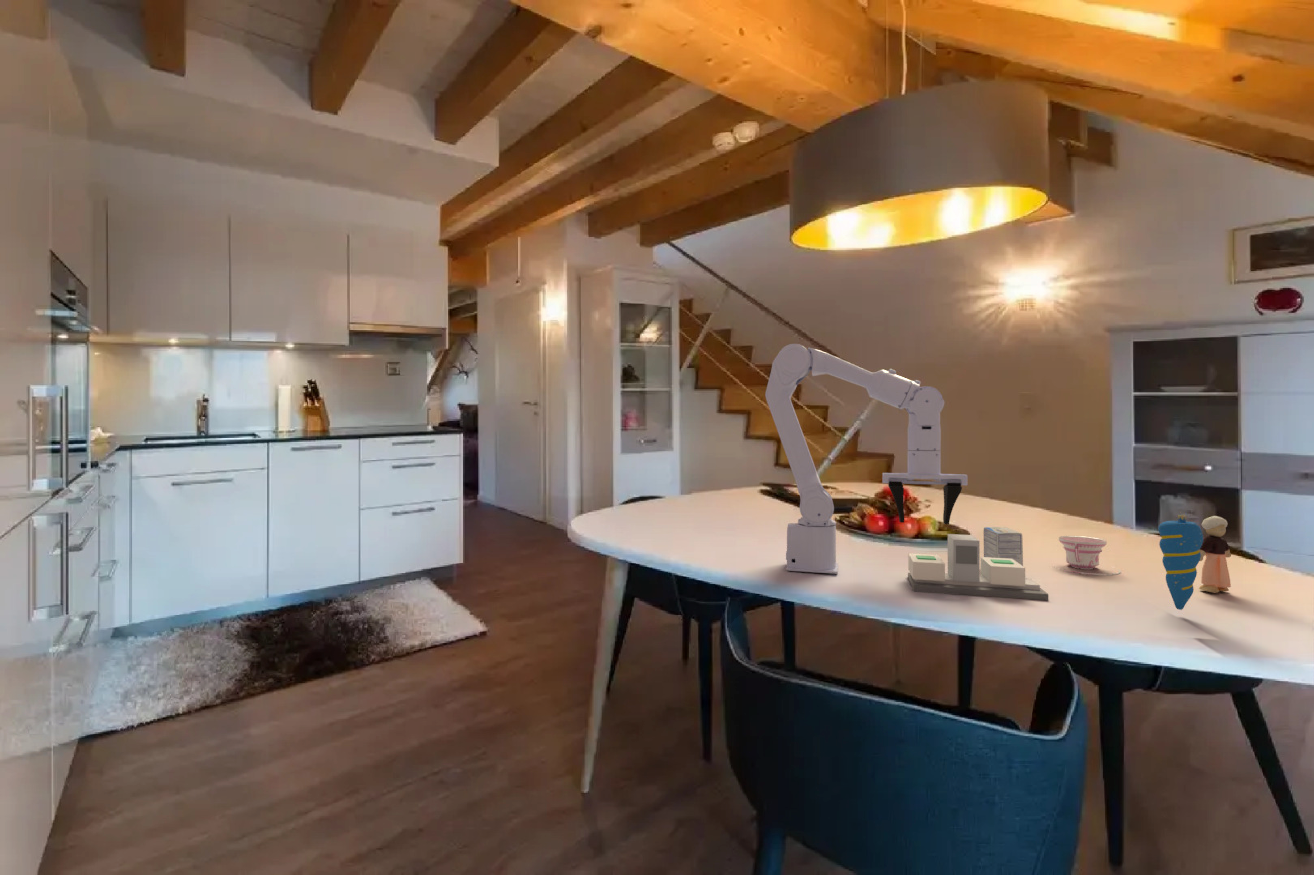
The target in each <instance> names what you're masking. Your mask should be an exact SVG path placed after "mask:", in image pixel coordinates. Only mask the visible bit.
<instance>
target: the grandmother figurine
mask: <svg viewBox="0 0 1314 875" xmlns="http://www.w3.org/2000/svg"><path fill="white" fill-rule="evenodd" d="M1228 525H1229V524H1228V521H1227V519H1225V518H1223V517H1221V516H1218V515H1212V516H1210V517H1206V518H1205V519H1203V520H1202V523H1201V527H1202V528H1203V529H1205V532H1206V534H1208V535H1207V536H1205V537H1203V543H1202V546H1201V548H1200V549H1199V551H1200V554H1201V558H1200V561H1199V562H1202V561H1203V560H1204V557H1205V560H1204V562H1203V565H1202V567H1201V580H1200V582H1201V584H1202V585H1200V586H1199V587H1198V590H1201V591H1205V592H1209V593H1220V592H1228V591H1230V590H1229V588H1232V585H1231V584H1232V583H1231V578H1230V572H1229V571H1230V570H1229V567H1228V562H1227V558H1231V556H1232V553H1231V551H1230V546H1229V544H1228V542H1227V540H1226V539H1225V538H1223V536H1225V534H1226V531H1227V529H1226V528H1227V527H1228Z"/></svg>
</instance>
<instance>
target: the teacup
mask: <svg viewBox="0 0 1314 875" xmlns="http://www.w3.org/2000/svg"><path fill="white" fill-rule="evenodd" d="M1058 541H1059V542H1060V543H1061V544H1062V545H1063V546H1062V547H1063V549H1064V550H1065V555H1066V556H1065V563H1067V564H1068V565H1070V567H1072V568H1075V569H1079V568H1081V569H1080V570H1094V569H1095V568H1096V567H1099V565H1100V554H1101V552H1103V548H1104V547H1105V546H1106V545H1107V540H1106V539H1105V538H1100V537H1093V536H1085V535H1061V536H1059V537H1058ZM1053 568H1055V569H1056V568H1057V567H1054V566H1053ZM1093 568H1094V569H1093ZM1112 568H1113V569H1115V567H1114V566H1112ZM1057 570H1059V571H1064V572H1070V573H1073V572H1075V573H1074V574H1079V573H1081V574H1082V575H1086V574H1087V575H1093V576H1114V575H1115V576H1116V575H1119V574H1122V570H1121V569H1120V568H1117V570H1118V573H1117V572H1115V573H1114V572H1113V573H1093V572H1091V573H1090V572H1082V571H1074V570H1067V569H1062V568H1057ZM1081 574H1080V575H1081Z"/></svg>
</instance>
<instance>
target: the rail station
mask: <svg viewBox="0 0 1314 875" xmlns="http://www.w3.org/2000/svg"><path fill="white" fill-rule="evenodd" d="M907 555H908V556H907V557H908V566H907V568H908V571H909V572H907V578H908V580H909V584H910V586H911V588H912V590H913V592H921V593H923V592H924V593H937V594H953V595H964V596H965V595H968V596H977V597H978V596H979V597H980V596H981V597H995V598H1008V599H1009V598H1010V599H1025V600H1037V601H1049V592H1046V591H1045V590H1044V589H1042V588H1041V585H1040V583H1038V582H1036V581H1035V580H1034V579H1033V578H1031V577H1030V578H1029V577H1026V567H1024V565H1023V566H1022V565H1020V564H1019V563H1018V562H1016V561H1015V560H1013V559H1010V558H991V557H984V556H981V557H980V574H981V575H980V582H969V581H953V579H952V578H951V577H950V575H949V574H948V572H947V573H946V563H945V562H944V561H943V559H942V558H941V557H940V555H939V554H932V553H931V554H927V553H925V554H924V553H911V552H909V553H908V554H907Z"/></svg>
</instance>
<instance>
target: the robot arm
mask: <svg viewBox="0 0 1314 875" xmlns="http://www.w3.org/2000/svg"><path fill="white" fill-rule="evenodd" d="M810 372H811V375H812V377H815V376H822V375H829V376H832V377H835V378H838V379H840V380H843V381H846V382H848V383H851V384H854V385H857V386H860V387H862V388H864V389H865V390H866V391H867V394H868V397H869V398H872V399H874V400H875V401H879V402H881V403H883V404H887V405H889V406H891V407H894V408H897V409H898V410H903V409H905V411H906V412H907V414H908V426H907V472H882V482H881V483H882V484H887V485H888V488H889V490H890V492H891V495H892V497H893V499H894V503H895V505H896V509H897V514H898V518H899V523H903V524H904V523H905V510H904V495H905V494H904V493H905V492H904V491H905V488H904V485H903V484H906V485H908V484H909V485H944V486H943V487H942V489H943V516H942V522H943V524H944V525H950V522H951V521H950V520H951V515H952V512H953V509H954V506H955V503H956V502H957V500H958V498H959V496H960V494H961V492H962V490H963V489H962V488H963V487H962V486H968V482H969V481H968V478H969V476H968V474H962V473H961V474H960V473H959V474H958V473H941V472H942V471H941V470H942V469H941V468H942V467H941V458H942V457H941V456H942V455H941V454H942V453H941V452H942V451H941V450H942V445H941V444H942V441H941V440H942V439H941V438H942V437H941V436H942V427H941V412H942V410H943V408H944V406H945V403H946V401H945V400H944V398H943V395H942V393H941V392H940V390H938V389H937V388H935V387H934V386H929V385H928V386H927V385H926V386H925V385H924V386H920V385H921V383H922V382H921V381H920V380H917V379H915V380H911V379H908V378H905V377H903V376H901V375H897V370H895V369H892V368H889V369H888V370H885V369H879V370H878V371H875V372H871V371H869V370H867V369H865V368H862V367H859V366H858V365H855V364H853V363H851V362H849V361H847V360H844V359H842V358H839V357H837V356H835V355H832V354H830V353H828V352H825V351H822V350H819V349H816V348H812V347H808V348H807V347H805V346H804V345H802V344H799V343H789V344H787V345H785V346H783V347H782V348H781V349H780V350H779V352H778V354H777V355H776V357H775V358H774V360H773V361H772V364H771V370H770V374H769V378H768V381H767V386H766V389H765V400H766V403H767V406H768V408H769V411H770V413H771V416H772V420H773V422H774V425H775V427H776V431H777V433H778V436H779V439H780V442H781V444H782V445H781V446H782V448H783V450H784V452H785V453H784V454H785V455H786V456H785V457H787V461H788V464H789V466H790V469H791V473H792V475H793V478H794V481H795V484H796V489H797V491H798V494H799V497H800V502H799V512H800V515H801V516H802V517H800V518H798V519H797V522H796V523H795V522H792V523H788V524H787V527H786V528H787V529H786V551H785V557H786V558H785V560H786V571H787V572H788V571H789V572H803V573H820V574H838V573H839V563H837V558H836V557H837V545H836V544H837V542H836V540H837V525H836V524H837V523H836V522H837V521H835V520H833V519H832V517H833V514H834V512H835V506H834V501H833V498H832V496H831V494H830V493H829V492H828V491H827V490H826V489H825V488H824V487H823V484H822V481H821V479H820V476H819V473H818V472H817V469H816V466H815V463H814V459H813V457H812V455H811V452H810V450H809V446H808V443H807V440H806V438H805V435H804V433H803V430H802V428H801V427H802V426H801V425H800V422H799V419H798V416H797V414H796V411H795V408H794V404H793V402H792V396H793V394H794V393H795V391H796V388H797V387H798V385H799V384H800V383H801V382H802V381H803V380H804V379H805V378H807V376H808V375H809V373H810ZM923 480H924V481H923ZM925 480H926V481H925ZM928 480H930V481H928ZM931 480H932V481H931Z"/></svg>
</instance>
